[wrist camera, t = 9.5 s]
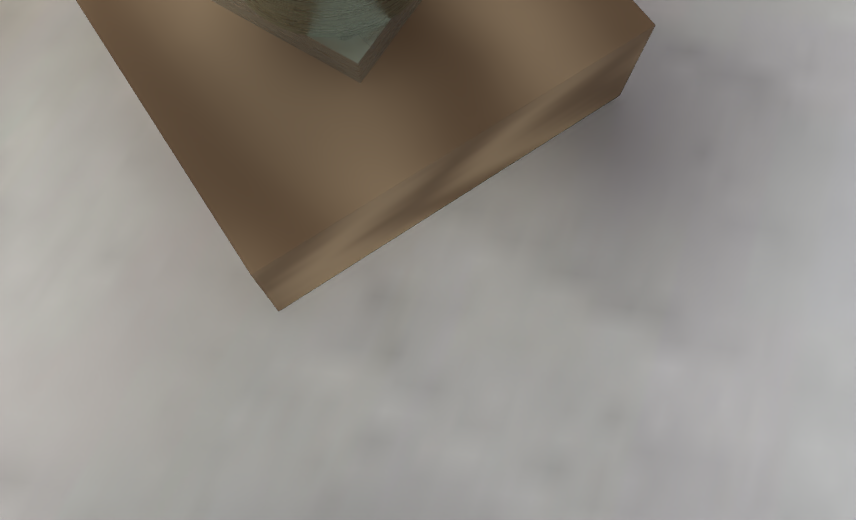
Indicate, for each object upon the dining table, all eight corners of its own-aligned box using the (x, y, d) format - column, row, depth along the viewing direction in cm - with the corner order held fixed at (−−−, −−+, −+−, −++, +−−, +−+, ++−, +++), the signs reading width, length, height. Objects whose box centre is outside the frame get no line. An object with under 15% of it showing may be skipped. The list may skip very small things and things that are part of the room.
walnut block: (278, 311, 23) (250, 274, 19) (82, 4, 26) (25, -79, 22) (619, 95, 25) (655, 24, 22) (400, -158, 29) (397, -257, 25)
